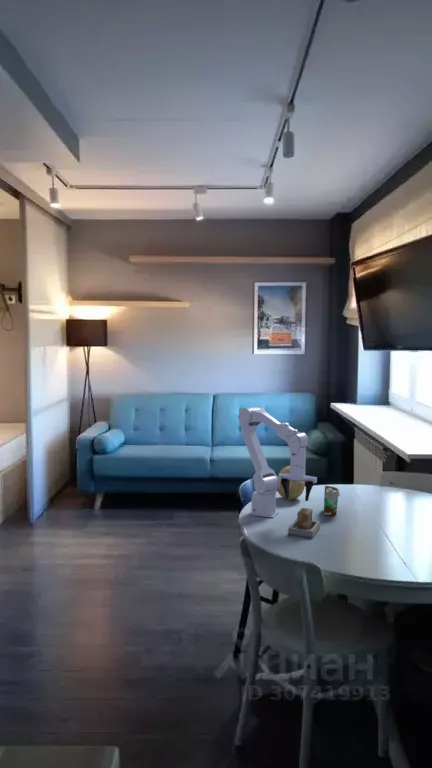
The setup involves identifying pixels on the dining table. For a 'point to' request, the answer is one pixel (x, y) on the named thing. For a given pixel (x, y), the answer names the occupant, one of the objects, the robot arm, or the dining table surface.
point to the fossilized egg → (291, 486)
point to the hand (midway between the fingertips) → (297, 499)
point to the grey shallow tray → (304, 530)
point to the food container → (330, 501)
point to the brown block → (304, 519)
